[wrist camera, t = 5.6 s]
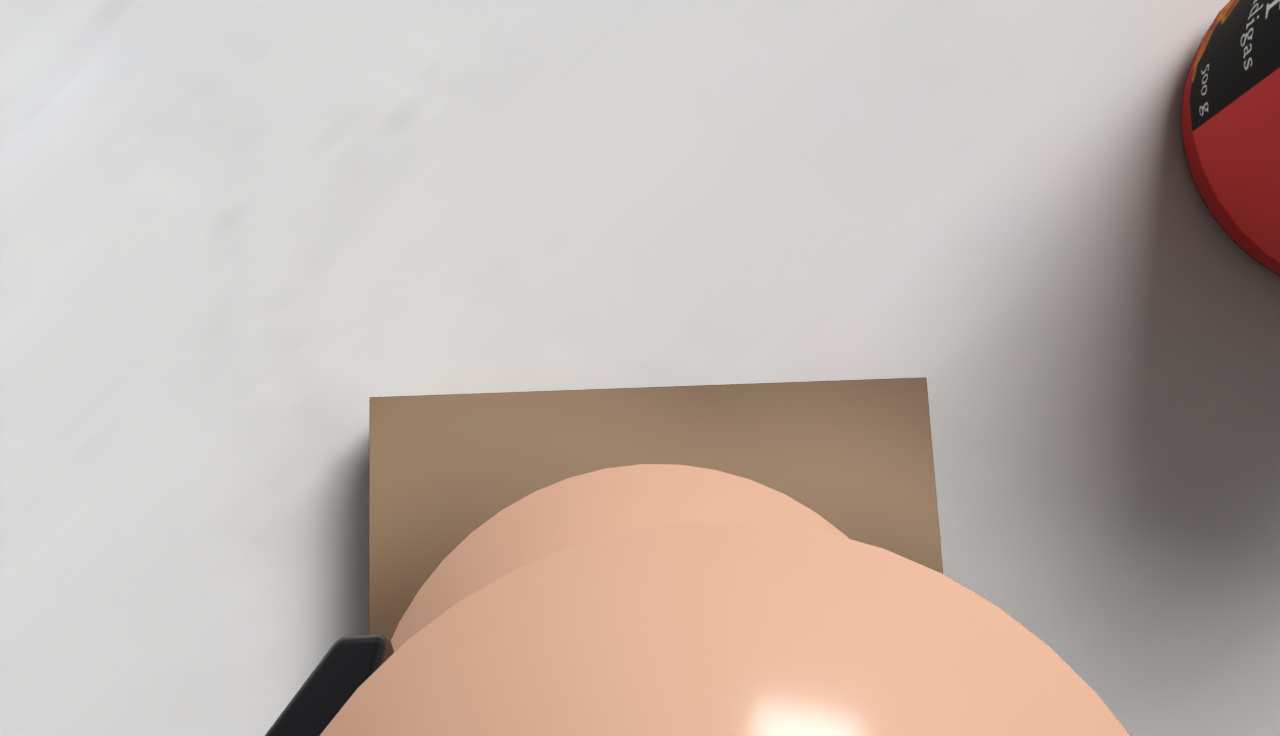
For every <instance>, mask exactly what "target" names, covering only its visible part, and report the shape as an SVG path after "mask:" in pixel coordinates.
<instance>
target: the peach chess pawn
mask: <svg viewBox="0 0 1280 736" xmlns="http://www.w3.org/2000/svg"><path fill="white" fill-rule="evenodd" d="M391 643H392V646H393V650H394V653H393V654H392V655H391V656H390V657H389V658H388V659H387V660H386V661H385V662H384V663H383V664H382V665H381V666H380V667H379V668H378V669H377V670H376V671H375V672H374V673H373V674H372V675H371V676H370V677H369V678H368V679H367V680H366V681H365V682H364V683H363V684H361V685H360V686H359V687H358V688H357V690H356V691H355V692H354V693H353V695H352V696H351V697H350V698H349V700H348V701H347V702H346V703H345V705H344V706H343V707H342V708H341V710H340V711H339V712H338V713H337V715H336V716H335V717H334V718H333V720H332V721H331V722H330V723H329V725H328V726H327V727H326V728H325V729H324V731H323V732H322V733H321V734H320V736H1130V735H1129V734H1128V732H1127V731H1126V730H1125V728H1124V727H1123V726H1122V725H1121V723H1120V722H1119V721H1118V720H1117V718H1116V717H1115V716H1114V715H1113V713H1112V712H1111V711H1110V710H1109V708H1108V707H1107V706H1106V704H1105V703H1104V702H1103V701H1102V699H1101V698H1100V697H1099V696H1098V694H1097V693H1096V692H1095V691H1094V690H1093V689H1092V688H1091V687H1090V686H1089V685H1088V684H1087V683H1086V682H1085V681H1084V680H1083V679H1082V678H1081V677H1080V676H1079V675H1078V674H1077V673H1076V672H1075V671H1074V670H1073V669H1072V668H1071V667H1070V666H1069V665H1068V664H1067V663H1066V662H1065V661H1064V660H1063V659H1062V658H1061V657H1060V656H1059V655H1058V654H1057V653H1056V652H1055V651H1054V650H1053V649H1052V648H1051V647H1050V646H1048V645H1047V644H1046V643H1044V642H1043V641H1042V640H1041V639H1039V638H1038V637H1037V636H1035V635H1034V634H1033V633H1031V632H1030V631H1029V630H1028V629H1026V628H1025V627H1024V626H1022V625H1021V624H1020V623H1019V622H1017V621H1016V620H1015V619H1013V618H1012V617H1011V616H1009V615H1008V614H1007V613H1006V612H1004V611H1003V610H1002V609H1000V608H999V607H998V606H996V605H994V604H993V603H991V602H989V601H988V600H986V599H984V598H983V597H981V596H979V595H977V594H976V593H974V592H972V591H971V590H969V589H967V588H966V587H964V586H962V585H961V584H959V583H957V582H955V581H954V580H952V579H950V578H949V577H947V576H945V575H944V574H942V573H939V572H937V571H935V570H932V569H930V568H928V567H925V566H923V565H921V564H918V563H916V562H914V561H911V560H909V559H907V558H904V557H902V556H900V555H897V554H895V553H893V552H890V551H888V550H886V549H883V548H880V547H876V546H872V545H869V544H865V543H862V542H858V541H855V540H851V539H849V538H848V537H847V536H846V535H844V534H843V533H842V532H841V531H839V530H838V529H837V528H835V527H834V526H833V525H832V524H830V523H829V522H828V521H826V520H825V519H824V518H823V517H821V516H820V515H819V514H817V513H816V512H814V511H812V510H811V509H809V508H807V507H806V506H804V505H802V504H801V503H799V502H797V501H795V500H794V499H792V498H790V497H789V496H787V495H785V494H783V493H781V492H778V491H776V490H774V489H771V488H769V487H767V486H764V485H762V484H760V483H757V482H755V481H753V480H750V479H746V478H743V477H739V476H736V475H732V474H729V473H725V472H721V471H718V470H713V469H706V468H699V467H692V466H685V465H673V464H639V465H631V466H622V467H614V468H606V469H602V470H598V471H594V472H590V473H586V474H582V475H578V476H574V477H570V478H568V479H565V480H563V481H560V482H558V483H555V484H553V485H550V486H548V487H545V488H542V489H540V490H537V491H535V492H533V493H531V494H530V495H528V496H526V497H524V498H522V499H521V500H519V501H517V502H515V503H514V504H512V505H510V506H508V507H506V508H505V509H503V510H501V511H500V512H499V513H497V514H496V515H495V516H493V517H492V518H491V519H489V520H488V521H486V522H485V523H484V524H482V525H481V526H480V527H478V528H477V529H476V530H474V531H473V532H472V533H471V534H470V535H469V536H467V537H466V538H465V539H464V540H463V541H462V542H461V543H460V544H459V545H458V546H457V547H456V548H455V549H454V550H453V551H452V552H451V553H450V554H449V555H448V556H447V557H446V558H445V559H444V560H443V561H442V562H441V563H440V565H439V566H438V567H437V568H436V570H435V571H434V572H433V573H432V575H431V576H430V577H429V578H428V580H427V581H426V582H425V583H424V585H423V586H422V587H421V588H420V590H419V591H418V593H417V594H416V596H415V598H414V599H413V601H412V603H411V604H410V606H409V607H408V609H407V611H406V612H405V614H404V615H403V617H402V619H401V620H400V622H399V624H398V626H397V628H396V630H395V633H394V635H393V637H392V639H391Z"/></svg>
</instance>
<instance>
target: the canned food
mask: <svg viewBox="0 0 1280 736" xmlns="http://www.w3.org/2000/svg"><path fill="white" fill-rule="evenodd" d="M1181 121H1182V133H1183V145H1184V149H1185V153H1186V157H1187V160H1188V164H1189V167H1190V171H1191V174H1192V177H1193V179H1194V181H1195V183H1196V185H1197V188H1198V190H1199V192H1200V194H1201V196H1202V198H1203V200H1204V202H1205V204H1206V206H1207V207H1208V209H1209V210H1210V211H1211V213H1212V214H1213V215H1214V217H1215V218H1216V220H1217V221H1218V222H1219V224H1220V225H1221V226H1222V228H1223V229H1224V231H1225V232H1226V233H1227V234H1228V235H1229V236H1230V237H1231V238H1232V239H1233V240H1234V241H1235V242H1236V243H1237V244H1238V245H1239V246H1241V247H1242V248H1243V249H1244V250H1245V251H1246V252H1247V253H1248V254H1249V255H1250V256H1251V257H1253V258H1254V259H1256V260H1257V261H1259V262H1260V263H1262V264H1263V265H1265V266H1266V267H1268V268H1269V269H1271V270H1272V271H1274V272H1275V273H1276V274H1278V275H1280V0H1231V1H1230V2H1229V3H1228V4H1227V5H1226V6H1225V7H1224V8H1223V9H1222V10H1221V11H1220V12H1219V13H1218V15H1217V17H1216V18H1215V20H1214V22H1213V23H1212V25H1211V26H1210V28H1209V30H1208V31H1207V33H1206V35H1205V36H1204V38H1203V40H1202V42H1201V44H1200V47H1199V49H1198V51H1197V53H1196V55H1195V58H1194V60H1193V63H1192V66H1191V69H1190V72H1189V75H1188V77H1187V80H1186V83H1185V86H1184V95H1183V103H1182V112H1181Z"/></svg>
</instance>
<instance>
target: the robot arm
mask: <svg viewBox="0 0 1280 736" xmlns="http://www.w3.org/2000/svg"><path fill="white" fill-rule="evenodd" d="M393 653H394V650H393V646H392V643H391V641H390V639H389V638H388V637H387V636H386V635H382V634H373V635H355V636H346V637H342V638H341V639H339V640H338V641H336V642H335V643H334V645H333V646H332V647H331V649H330V650H329V651H328V653H327V654H326V655H325V656H324V658H323V659H322V660H321V662H320V663H319V664H318V666H317V667H316V668H315V670H314V671H313V672H312V674H311V675H310V676H309V678H308V679H307V680H306V682H305V683H304V684H303V686H302V687H301V688H300V690H299V691H298V692H297V694H296V695H295V696H294V698H293V699H292V700H291V702H290V703H289V704H288V706H287V707H286V708H285V710H284V711H283V712H282V714H281V715H280V716H279V718H278V719H277V720H276V722H275V723H274V724H273V726H272V727H271V728H270V729H269V731H268V732H267V733H266V735H265V736H320V734H321V733H322V732H323V731H324V729H325V728H326V727H327V726H328V725H329V723H330V722H331V721H332V720H333V718H334V717H335V716H336V715H337V713H338V712H339V711H340V710H341V708H342V707H343V706H344V705H345V703H346V702H347V701H348V700H349V698H350V697H351V696H352V695H353V693H354V692H355V691H356V690H357V688H358V687H359V686H360V685H361V684H363V683H364V682H365V681H366V680H367V679H368V678H369V677H370V676H371V675H372V674H373V673H374V672H375V671H376V670H377V669H378V668H379V667H380V666H381V665H382V664H383V663H384V662H385V661H386V660H387V659H388V658H389V657H390V656H391V655H392V654H393Z"/></svg>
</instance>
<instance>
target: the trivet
mask: <svg viewBox="0 0 1280 736" xmlns="http://www.w3.org/2000/svg"><path fill="white" fill-rule="evenodd" d="M639 464H673V465H685V466H692V467H699V468H706V469H713V470H718V471H721V472H725V473H729V474H732V475H736V476H739V477H743V478H746V479H750V480H753V481H755V482H757V483H760V484H762V485H764V486H767V487H769V488H771V489H774V490H776V491H778V492H781V493H783V494H785V495H787V496H789V497H790V498H792V499H794V500H795V501H797V502H799V503H801V504H802V505H804V506H806V507H807V508H809V509H811V510H812V511H814V512H816V513H817V514H819V515H820V516H821V517H823V518H824V519H825V520H826V521H828V522H829V523H830V524H832V525H833V526H834V527H835V528H837V529H838V530H839V531H841V532H842V533H843V534H844V535H846V536H847V537H848V538H849V539H851V540H855V541H858V542H862V543H865V544H869V545H872V546H876V547H880V548H883V549H886V550H888V551H890V552H893V553H895V554H897V555H900V556H902V557H904V558H907V559H909V560H911V561H914V562H916V563H918V564H921V565H923V566H925V567H928V568H930V569H932V570H935V571H937V572H939V573H942V574H943V567H942V555H941V544H940V532H939V520H938V509H937V497H936V485H935V474H934V462H933V450H932V439H931V427H930V415H929V404H928V392H927V381H926V378H898V379H870V380H842V381H814V382H786V383H758V384H730V385H702V386H674V387H646V388H618V389H590V390H562V391H534V392H507V393H479V394H451V395H423V396H395V397H370V447H369V635H373V634H382V635H386V636H387V637H388V638H389V639H390V641H391V639H392V637H393V635H394V633H395V630H396V628H397V626H398V624H399V622H400V620H401V619H402V617H403V615H404V614H405V612H406V611H407V609H408V607H409V606H410V604H411V603H412V601H413V599H414V598H415V596H416V594H417V593H418V591H419V590H420V588H421V587H422V586H423V585H424V583H425V582H426V581H427V580H428V578H429V577H430V576H431V575H432V573H433V572H434V571H435V570H436V568H437V567H438V566H439V565H440V563H441V562H442V561H443V560H444V559H445V558H446V557H447V556H448V555H449V554H450V553H451V552H452V551H453V550H454V549H455V548H456V547H457V546H458V545H459V544H460V543H461V542H462V541H463V540H464V539H465V538H466V537H467V536H469V535H470V534H471V533H472V532H473V531H474V530H476V529H477V528H478V527H480V526H481V525H482V524H484V523H485V522H486V521H488V520H489V519H491V518H492V517H493V516H495V515H496V514H497V513H499V512H500V511H501V510H503V509H505V508H506V507H508V506H510V505H512V504H514V503H515V502H517V501H519V500H521V499H522V498H524V497H526V496H528V495H530V494H531V493H533V492H535V491H537V490H540V489H542V488H545V487H548V486H550V485H553V484H555V483H558V482H560V481H563V480H565V479H568V478H570V477H574V476H578V475H582V474H586V473H590V472H594V471H598V470H602V469H606V468H614V467H622V466H631V465H639Z"/></svg>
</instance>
